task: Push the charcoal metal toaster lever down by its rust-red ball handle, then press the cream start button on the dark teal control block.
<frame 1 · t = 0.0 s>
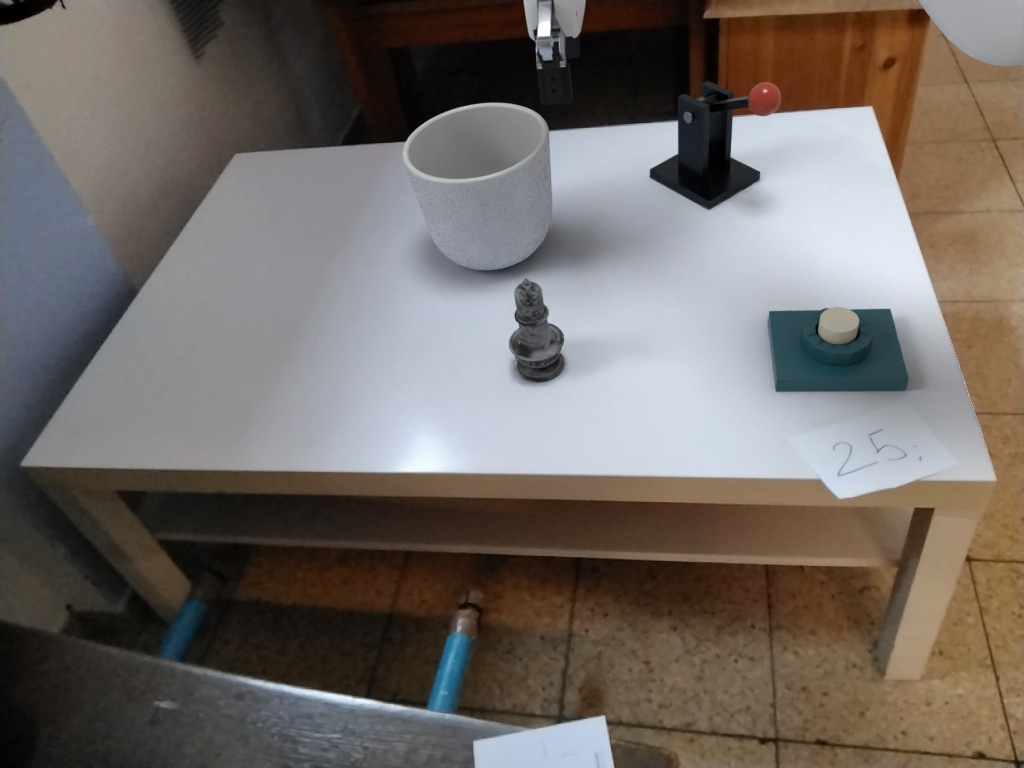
hand: (561, 79, 86), 22 cm above the table, tool pointing down, fingers open, 9 cm apart
lever: (734, 103, 97), point 12 cm above the table, hinge at 25.0°
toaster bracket: (703, 178, 108), on the table
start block: (832, 354, 84), on the table
planter: (496, 248, 105), on the table
stone chess piece: (540, 365, 89), on the table
start button: (838, 325, 81), point 4 cm above the table, slide at 0.2 cm
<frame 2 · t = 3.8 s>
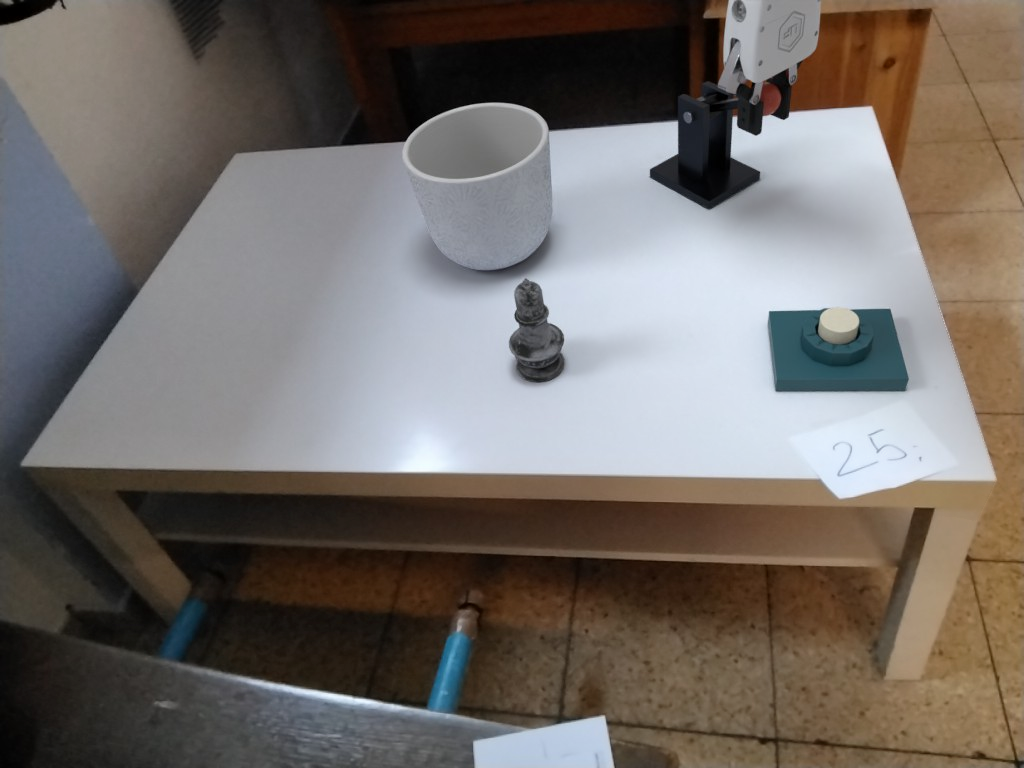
hand: (762, 121, 94), 11 cm above the table, tool pointing down, fingers closed on lever, 3 cm apart
lever: (734, 103, 97), point 12 cm above the table, hinge at 25.0°, touching gripper
everything else where it was.
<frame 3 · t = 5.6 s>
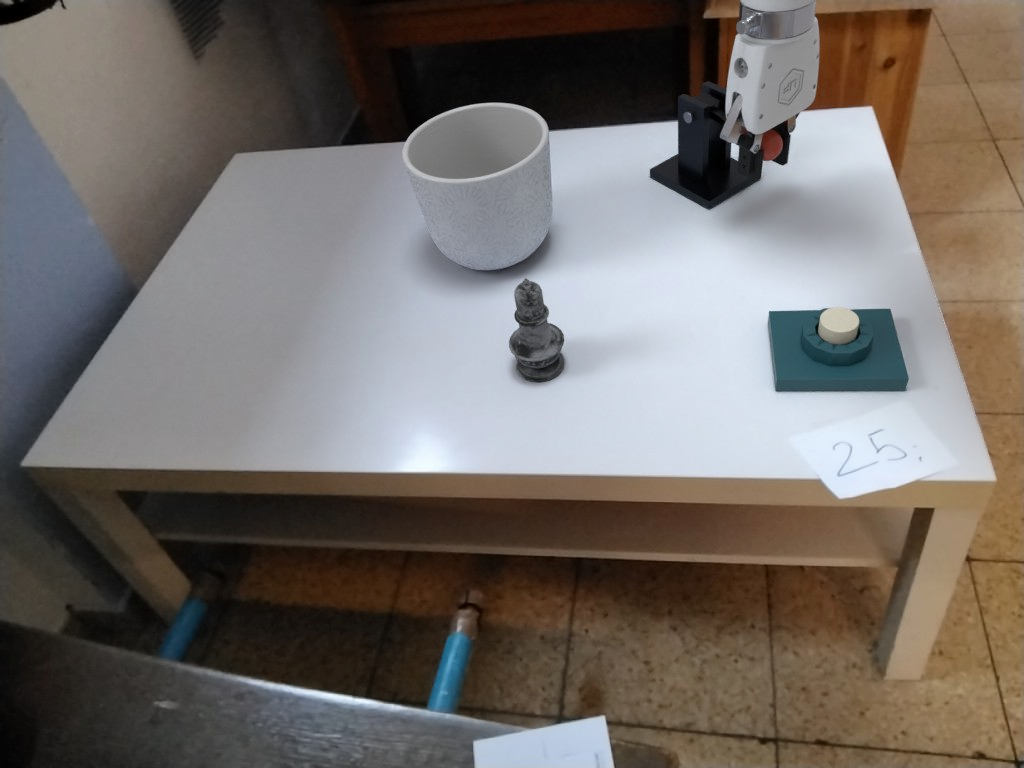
hand: (762, 166, 98), 6 cm above the table, tool pointing down, fingers closed on lever, 3 cm apart
lever: (736, 126, 98), point 9 cm above the table, hinge at -6.9°, touching gripper
everything else where it was.
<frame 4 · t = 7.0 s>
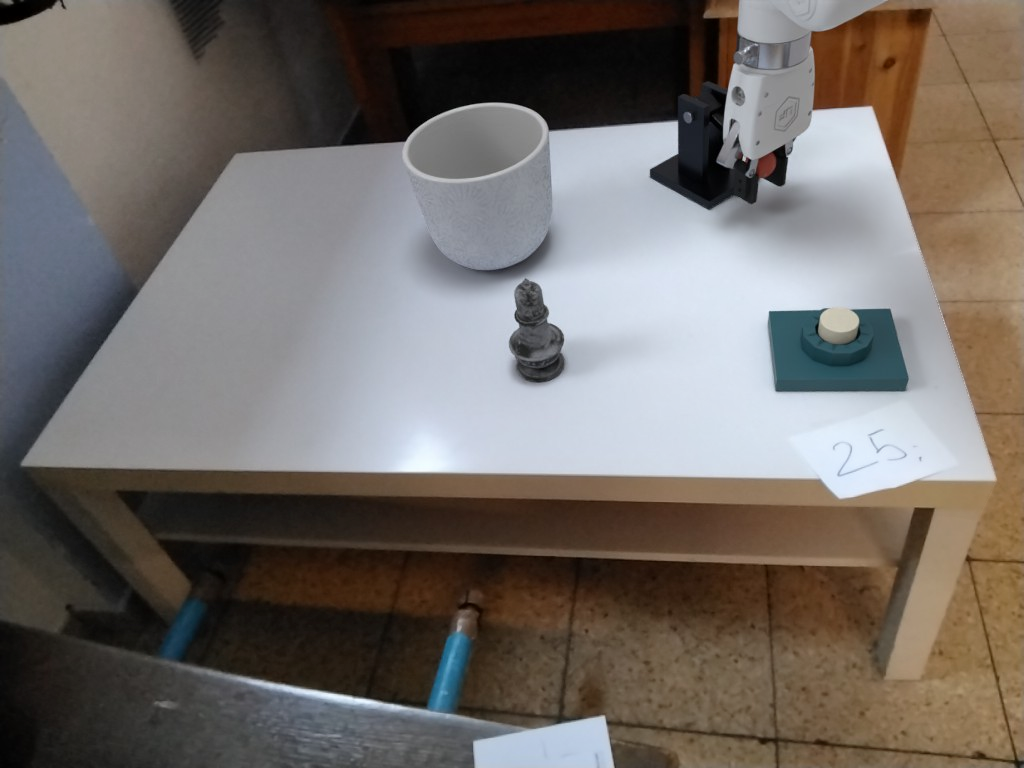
hand: (759, 188, 101), 3 cm above the table, tool pointing down, fingers open, 4 cm apart
lever: (733, 136, 100), point 8 cm above the table, hinge at -22.6°
everything else where it was.
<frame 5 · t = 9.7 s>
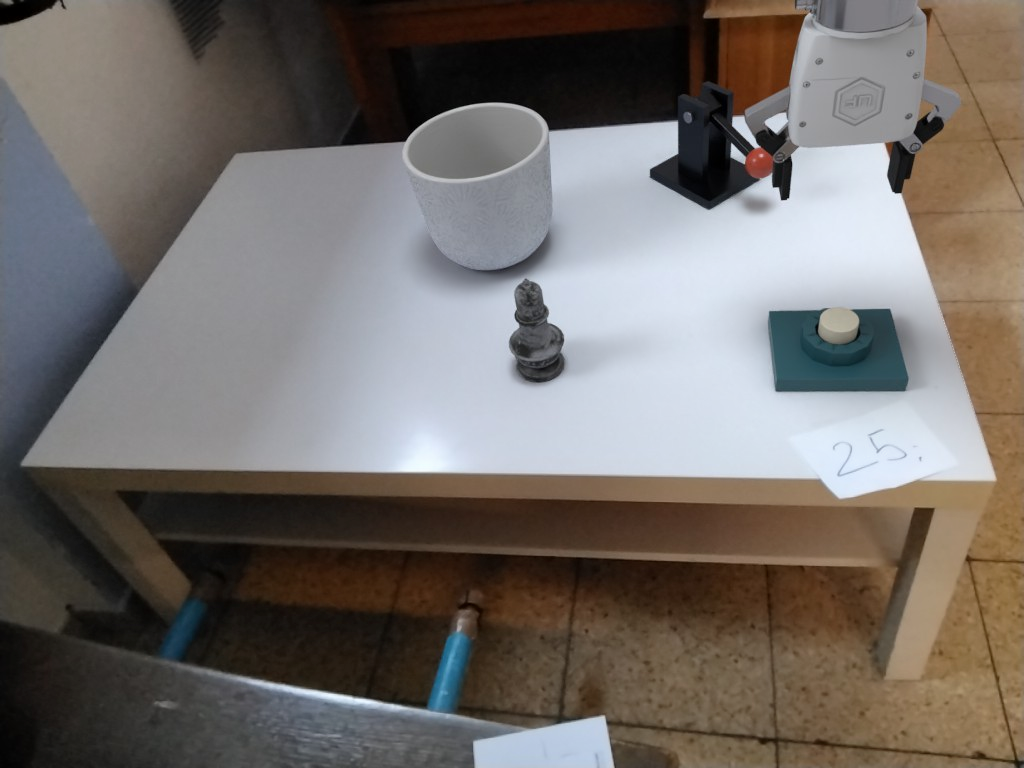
hand: (837, 188, 76), 16 cm above the table, tool pointing down, fingers open, 9 cm apart
nothing on the table moved.
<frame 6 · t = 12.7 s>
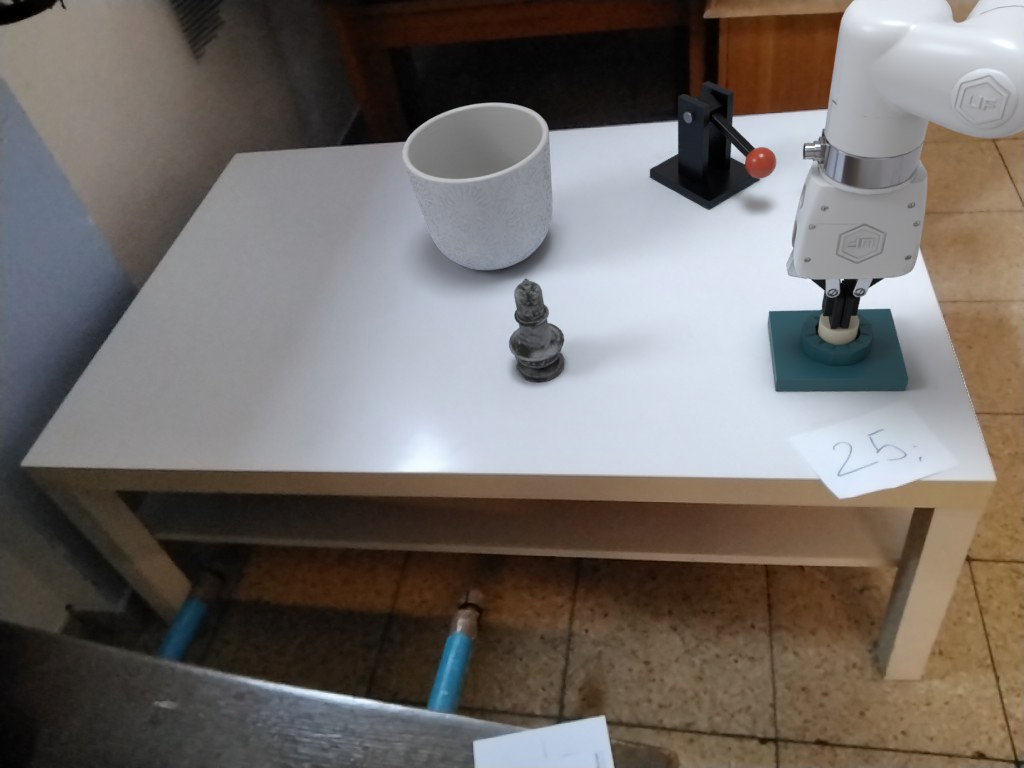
hand: (837, 318, 80), 5 cm above the table, tool pointing down, fingers closed
start button: (838, 326, 81), point 4 cm above the table, slide at 0.1 cm, touching gripper
everything else where it was.
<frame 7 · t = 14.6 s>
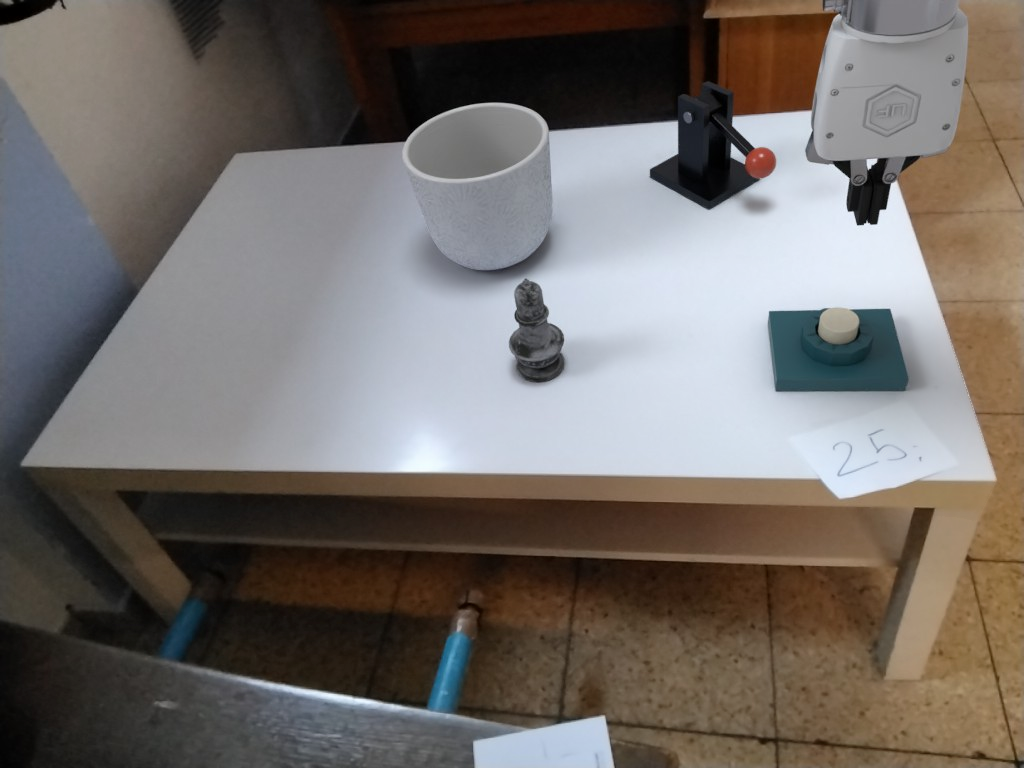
hand: (864, 215, 71), 17 cm above the table, tool pointing down, fingers closed
start button: (838, 325, 81), point 4 cm above the table, slide at 0.1 cm
everything else where it was.
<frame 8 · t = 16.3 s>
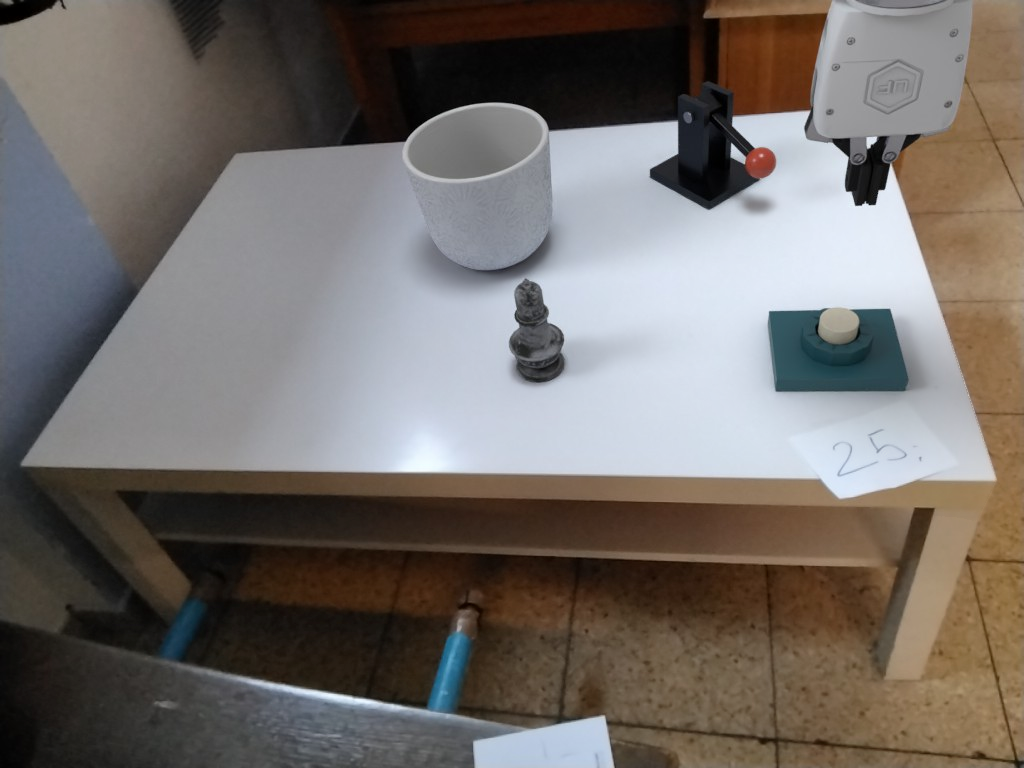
hand: (862, 196, 70), 19 cm above the table, tool pointing down, fingers closed
nothing on the table moved.
at the end: lever at -23° (first picture: +25°); start button pushed in 1.1 cm at the most during the clip, back to where it started at the end; start button slide at 0.1 cm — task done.
